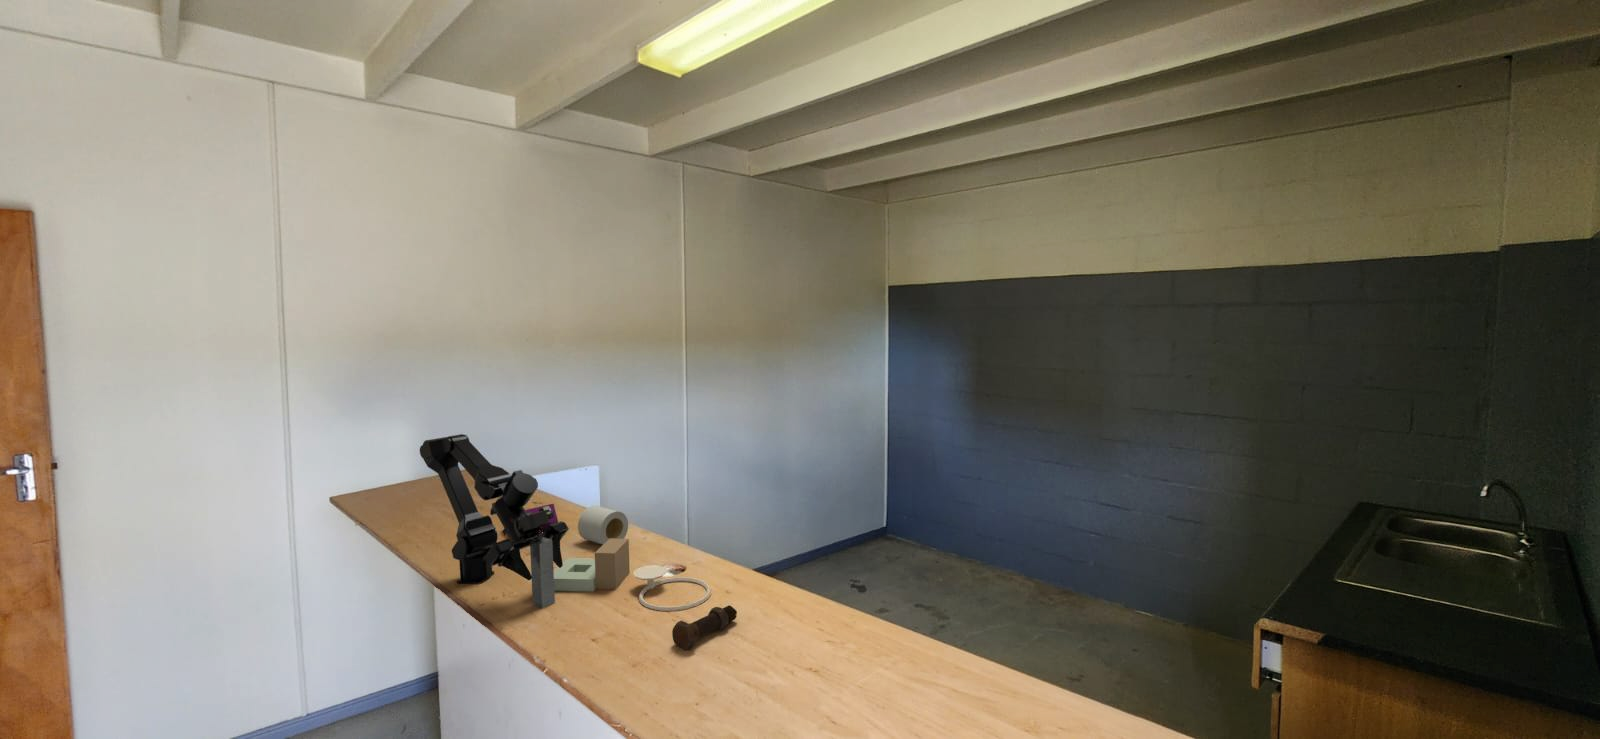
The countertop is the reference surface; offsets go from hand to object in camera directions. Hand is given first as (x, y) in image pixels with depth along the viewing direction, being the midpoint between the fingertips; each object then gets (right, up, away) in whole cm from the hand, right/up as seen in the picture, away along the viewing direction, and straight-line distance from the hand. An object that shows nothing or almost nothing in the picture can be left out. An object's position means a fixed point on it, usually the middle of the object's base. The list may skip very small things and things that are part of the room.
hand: (546, 572), depth 148 cm
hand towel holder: (+27, -7, +7) cm, 29 cm away
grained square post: (-1, -8, +1) cm, 8 cm away
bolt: (+39, -9, -13) cm, 42 cm away
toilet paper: (+1, -4, +41) cm, 42 cm away
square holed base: (+5, -6, +14) cm, 17 cm away
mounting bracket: (-25, -4, +50) cm, 56 cm away
